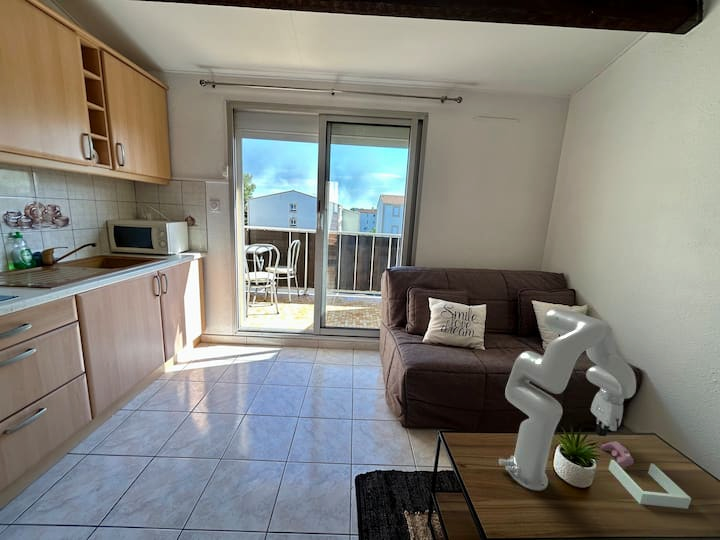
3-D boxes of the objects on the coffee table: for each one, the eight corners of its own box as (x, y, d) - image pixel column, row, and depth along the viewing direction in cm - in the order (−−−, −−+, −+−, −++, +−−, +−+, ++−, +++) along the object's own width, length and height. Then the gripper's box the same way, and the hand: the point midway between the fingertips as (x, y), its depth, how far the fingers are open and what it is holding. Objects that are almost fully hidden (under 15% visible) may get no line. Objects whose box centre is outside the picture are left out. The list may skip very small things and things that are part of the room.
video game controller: (625, 474, 107) (639, 461, 106) (614, 467, 108) (628, 454, 106) (608, 453, 117) (621, 441, 115) (598, 446, 117) (610, 434, 115)
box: (639, 503, 95) (642, 493, 94) (608, 468, 107) (611, 459, 106) (687, 508, 94) (691, 498, 93) (650, 473, 107) (653, 463, 106)
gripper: (588, 383, 125) (579, 421, 128) (616, 406, 110) (605, 448, 114) (606, 385, 124) (596, 422, 128) (637, 408, 110) (625, 450, 114)
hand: (600, 434), depth 121 cm, fingers closed
